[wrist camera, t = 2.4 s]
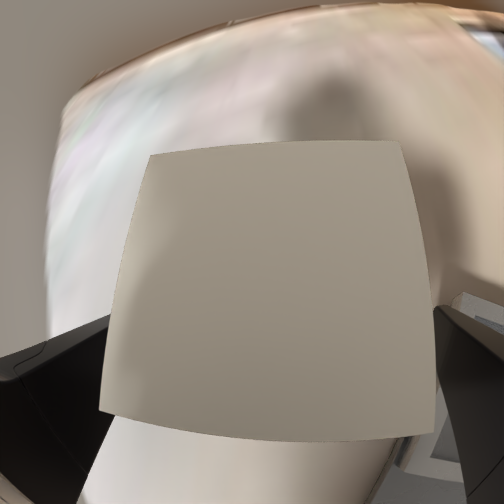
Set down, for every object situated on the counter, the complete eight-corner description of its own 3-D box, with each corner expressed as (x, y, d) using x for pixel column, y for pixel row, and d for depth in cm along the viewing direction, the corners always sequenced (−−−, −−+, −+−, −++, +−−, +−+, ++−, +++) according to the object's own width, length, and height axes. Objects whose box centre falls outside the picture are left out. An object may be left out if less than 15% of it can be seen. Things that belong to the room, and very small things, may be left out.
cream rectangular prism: (341, 400, 15) (433, 432, 3) (248, 398, 16) (99, 410, 4) (342, 308, 17) (397, 136, 5) (254, 308, 18) (151, 150, 6)
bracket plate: (477, 569, 7) (491, 582, 4) (327, 558, 10) (328, 578, 8) (566, 349, 12) (587, 341, 10) (442, 303, 16) (459, 290, 14)
